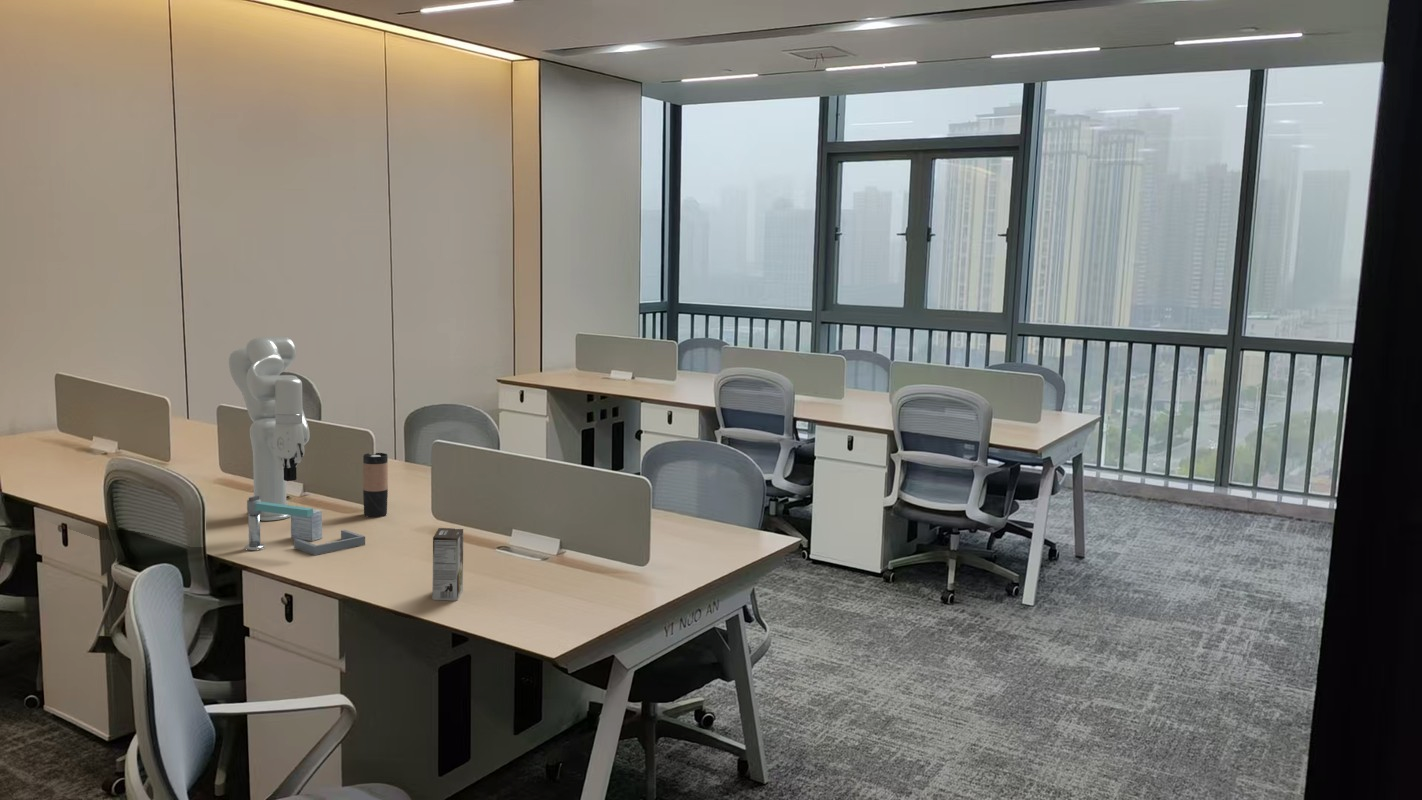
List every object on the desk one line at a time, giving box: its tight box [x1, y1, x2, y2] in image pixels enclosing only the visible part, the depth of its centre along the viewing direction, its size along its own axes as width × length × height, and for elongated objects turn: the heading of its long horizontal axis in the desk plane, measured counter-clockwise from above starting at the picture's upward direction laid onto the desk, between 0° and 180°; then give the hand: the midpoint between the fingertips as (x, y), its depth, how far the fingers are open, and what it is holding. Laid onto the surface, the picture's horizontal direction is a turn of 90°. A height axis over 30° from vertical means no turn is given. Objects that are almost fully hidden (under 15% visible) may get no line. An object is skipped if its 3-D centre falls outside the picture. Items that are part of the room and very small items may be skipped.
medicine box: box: [290, 508, 323, 542], centre depth 303 cm, size 8×4×9 cm, turn 71°
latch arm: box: [246, 495, 314, 517], centre depth 286 cm, size 4×21×5 cm, turn 72°
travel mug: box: [362, 452, 389, 518], centre depth 333 cm, size 8×8×20 cm
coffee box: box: [432, 527, 464, 601], centre depth 256 cm, size 9×6×16 cm
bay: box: [293, 529, 366, 556], centre depth 296 cm, size 10×16×2 cm, turn 142°
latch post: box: [244, 514, 265, 551], centre depth 290 cm, size 5×5×10 cm
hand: (290, 480), depth 306 cm, fingers closed
